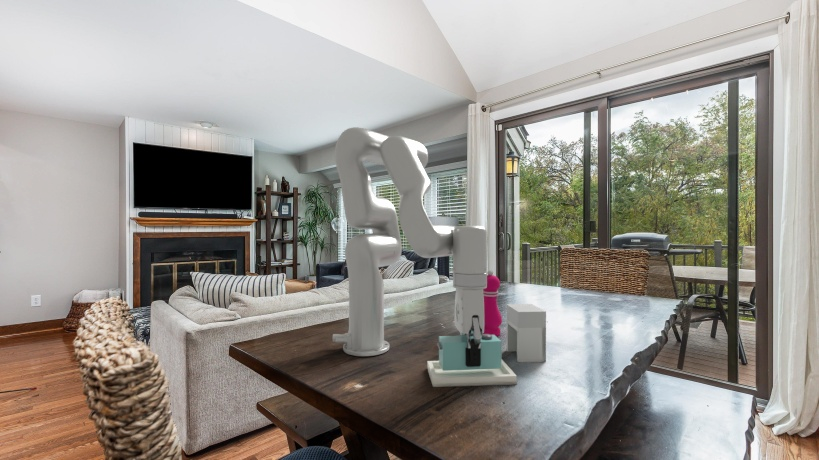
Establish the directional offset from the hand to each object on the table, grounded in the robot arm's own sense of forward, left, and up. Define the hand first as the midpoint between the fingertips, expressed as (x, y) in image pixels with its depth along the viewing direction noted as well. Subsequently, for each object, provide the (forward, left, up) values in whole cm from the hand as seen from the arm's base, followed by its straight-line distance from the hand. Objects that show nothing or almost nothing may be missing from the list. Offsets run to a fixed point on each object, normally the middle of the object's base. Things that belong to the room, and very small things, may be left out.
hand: (470, 360), depth 83 cm
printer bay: (+17, +12, -4) cm, 21 cm away
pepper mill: (+14, +32, -4) cm, 35 cm away
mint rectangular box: (0, 0, -1) cm, 1 cm away
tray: (0, 0, -4) cm, 4 cm away
